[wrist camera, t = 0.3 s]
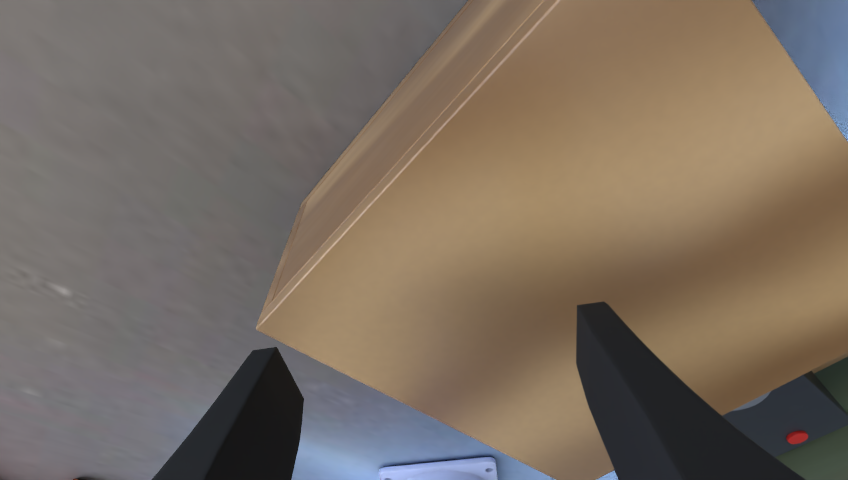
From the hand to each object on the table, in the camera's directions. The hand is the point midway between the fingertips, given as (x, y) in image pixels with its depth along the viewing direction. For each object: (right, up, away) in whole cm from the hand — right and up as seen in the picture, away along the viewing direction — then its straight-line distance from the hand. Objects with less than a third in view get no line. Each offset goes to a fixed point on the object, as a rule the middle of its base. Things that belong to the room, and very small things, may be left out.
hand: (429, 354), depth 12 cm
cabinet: (+5, +5, +9) cm, 11 cm away
